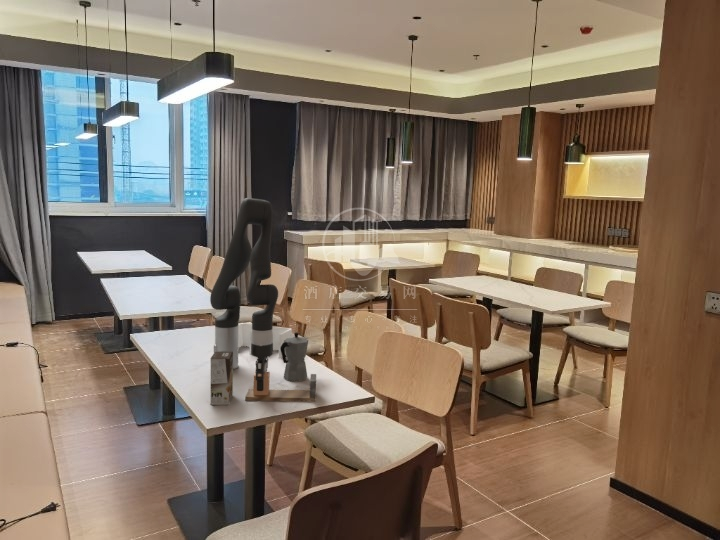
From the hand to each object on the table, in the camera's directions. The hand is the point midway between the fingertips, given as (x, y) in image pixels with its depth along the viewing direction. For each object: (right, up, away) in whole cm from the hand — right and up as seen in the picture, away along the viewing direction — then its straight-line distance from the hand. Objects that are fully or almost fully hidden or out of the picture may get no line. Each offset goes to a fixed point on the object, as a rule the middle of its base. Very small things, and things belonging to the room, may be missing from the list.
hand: (261, 386), depth 202 cm
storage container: (-10, +4, +56) cm, 56 cm away
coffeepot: (+9, -1, +21) cm, 23 cm away
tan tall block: (0, -2, 0) cm, 2 cm away
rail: (+7, -4, +1) cm, 8 cm away
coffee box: (-13, -4, -4) cm, 14 cm away
